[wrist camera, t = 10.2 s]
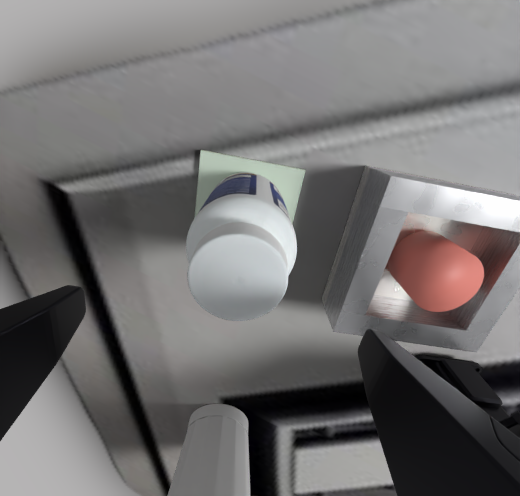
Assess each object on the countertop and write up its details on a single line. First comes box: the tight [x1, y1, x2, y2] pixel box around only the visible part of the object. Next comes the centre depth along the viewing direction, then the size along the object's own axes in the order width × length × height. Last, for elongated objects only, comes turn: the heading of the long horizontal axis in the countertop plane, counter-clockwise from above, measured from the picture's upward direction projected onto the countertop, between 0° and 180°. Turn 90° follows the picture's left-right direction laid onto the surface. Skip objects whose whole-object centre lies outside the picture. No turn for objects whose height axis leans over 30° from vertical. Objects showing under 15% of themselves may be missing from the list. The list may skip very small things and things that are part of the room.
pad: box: [195, 150, 306, 224], centre depth 20 cm, size 7×7×1 cm
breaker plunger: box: [388, 231, 484, 312], centre depth 19 cm, size 4×4×3 cm
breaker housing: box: [322, 166, 520, 352], centre depth 20 cm, size 11×11×4 cm
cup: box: [168, 404, 250, 496], centre depth 25 cm, size 8×8×12 cm
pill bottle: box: [186, 172, 297, 321], centre depth 15 cm, size 5×5×10 cm
